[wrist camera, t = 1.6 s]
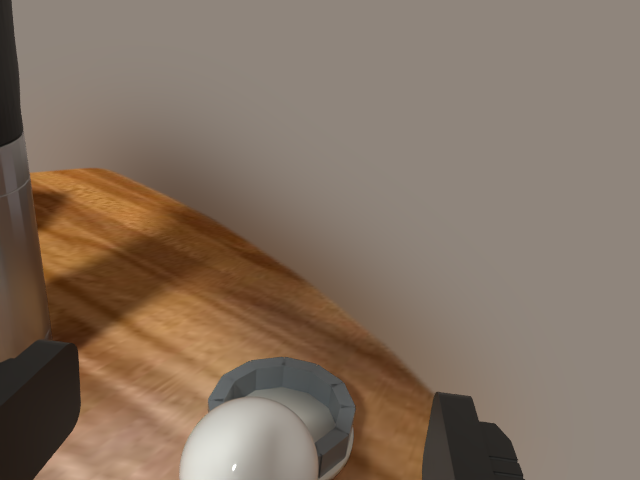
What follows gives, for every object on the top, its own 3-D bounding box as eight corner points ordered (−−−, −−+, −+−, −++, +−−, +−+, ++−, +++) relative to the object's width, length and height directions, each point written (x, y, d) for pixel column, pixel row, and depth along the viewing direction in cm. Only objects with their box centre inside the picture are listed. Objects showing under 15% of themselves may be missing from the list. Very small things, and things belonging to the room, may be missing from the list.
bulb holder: (179, 471, 35) (179, 440, 34) (236, 370, 44) (237, 343, 42) (336, 513, 33) (341, 482, 32) (363, 400, 42) (367, 373, 41)
